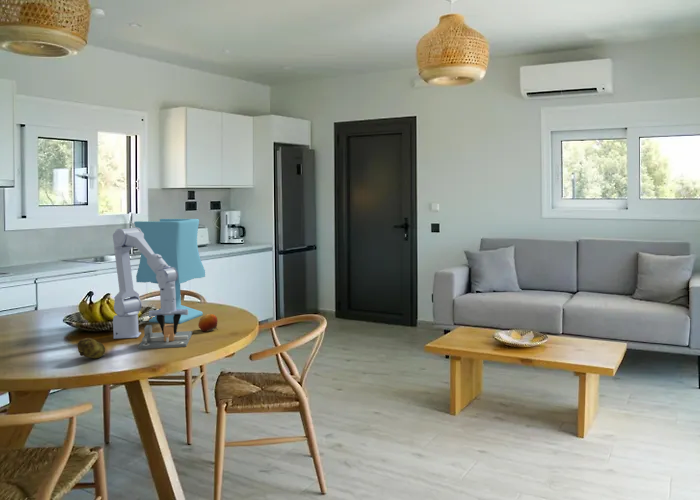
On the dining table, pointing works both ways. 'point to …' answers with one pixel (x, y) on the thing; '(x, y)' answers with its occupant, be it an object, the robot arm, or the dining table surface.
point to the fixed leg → (148, 333)
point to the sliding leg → (169, 332)
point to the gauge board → (158, 341)
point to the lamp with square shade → (173, 256)
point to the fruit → (208, 322)
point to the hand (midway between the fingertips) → (169, 333)
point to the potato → (91, 348)
